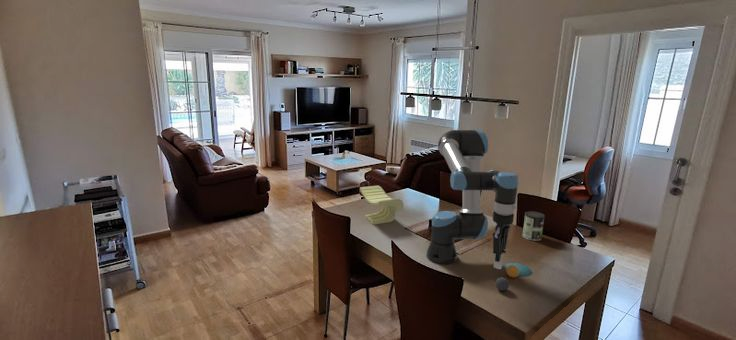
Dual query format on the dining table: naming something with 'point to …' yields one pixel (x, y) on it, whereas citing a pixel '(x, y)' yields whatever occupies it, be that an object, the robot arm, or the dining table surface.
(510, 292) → the dining table surface
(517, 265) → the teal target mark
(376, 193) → the slatted curved stool
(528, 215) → the coffee can
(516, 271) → the orange ball
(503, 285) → the charcoal ball
